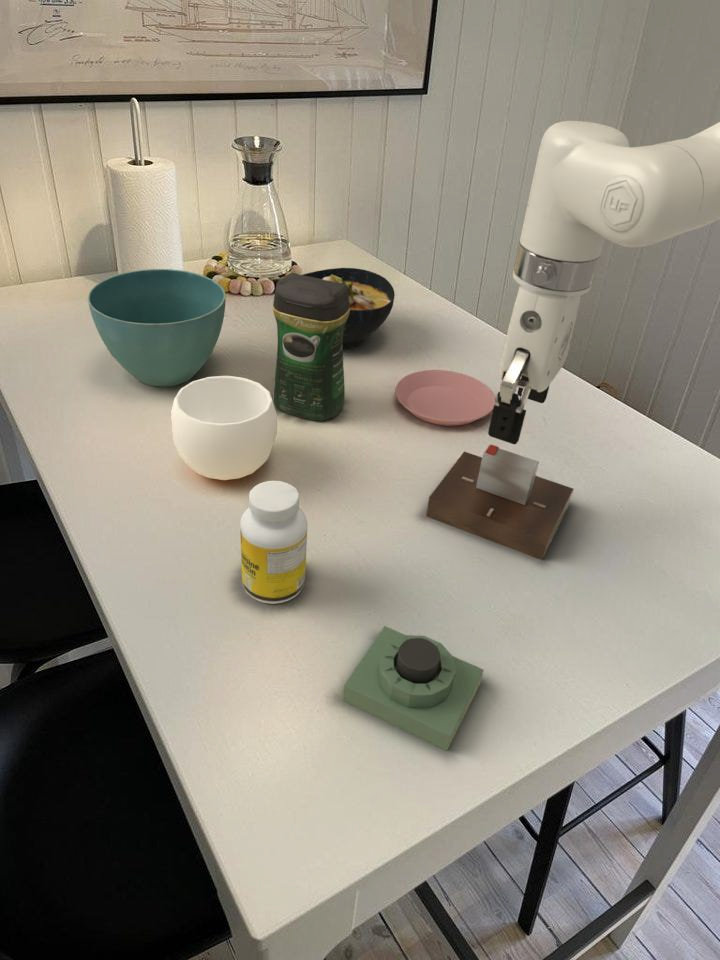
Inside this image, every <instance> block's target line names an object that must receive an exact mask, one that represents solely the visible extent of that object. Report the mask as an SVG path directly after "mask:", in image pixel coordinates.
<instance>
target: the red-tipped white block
mask: <svg viewBox="0 0 720 960" xmlns="http://www.w3.org/2000/svg"><path fill="white" fill-rule="evenodd" d="M481 457H482V461H481V466H480V471H479V476H478V481H477V486H476V488H478V489H480V490H483V491H486V492H489V493H492V494H494V495H497V496H500V497H503V498H506V499H509V500H511V501H514V502H517V503H520V504H523V505H525V504H526V503H527V501H528V499H529V497H530V495H531V491H532V487H533V484H534V480H535V476H537V472H538V468H539V463H540V461H539V460H535V459H532V458H529V457H527V456H524V455H520V454H518V453H514V452H512V451H508V450H505V449H503V448H500V447H499V446H497V445H495V444H489V445H488V446H486V449H485V450H484V451H483V452H482V456H481Z"/></svg>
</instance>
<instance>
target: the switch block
mask: <svg viewBox="0 0 720 960" xmlns="http://www.w3.org/2000/svg"><path fill="white" fill-rule="evenodd" d="M412 638H422V639H426V640H428V641H430V642H432V643H433V644H434V645H435V646H436V647H437V648H438V650H439V652H440V662H439V667H438V671H437V674H436V676H435V677H434V678H433V679H432V680H431V681H429V682H426V683H413V682H410V681H408V680H406V679H404V678H403V677H402V676H401V675H400V674H399V672H398V670H397V658H398V651H399V648H400V646H401V644H402V643H403V642H405V641H406V640H408V639H412ZM483 675H484V669H483V668H481V667H478V666H477V665H474V664H472V663H470V662H467V661H465V660H463V659H461V658H459V657H457V656H453V654H452V653H451V652H449V650H448V649H447V648H446V647H445V646H444V645H443V643H441V642H439V641H437V640H435V639H432V638H430V637H428V636H425V635H414V634H413V635H408V634H407V635H406V634H404V633H402V632H399V631H397V630H395V629H392V628H390V627H388V626H386V625H384V626H383V627H382V629H381V630H380V632H379V633H378V635H377V636H376V638H375V639H374V640H373V642H372V643H371V645H370V646H369V648H368V650H367V651H366V652H365V654H364V655H363V656H362V658H361V659H360V661H359V662H358V664H357V666H356V667H355V668H354V670H353V671H352V673H351V674H350V676H349V677H348V679H347V680H346V682H345V683H344V685H343V692H342V693H343V694H342V701H343V702H345V703H347V704H349V705H351V706H354V707H355V708H357V709H360V710H361V711H364V712H365V713H368V714H370V715H372V716H373V717H376V718H378V719H380V720H382V721H384V722H386V723H388V724H391V725H392V726H395V727H396V728H399V730H400V729H401V730H402V731H405V732H406V733H409V734H411V735H413V736H415V737H416V738H419V739H421V740H423V741H425V742H427V743H428V744H430V745H433V746H435V747H438V748H439V749H440V750H441V749H442V750H443V751H446V752H447V751H448V750H449V748H450V746H451V744H452V742H453V740H454V738H455V736H456V735H457V732H458V730H459V728H460V726H461V724H462V723H463V720H464V718H465V716H466V713H467V712H468V710H469V708H470V706H471V704H472V702H473V700H474V698H475V696H476V694H477V692H478V690H479V688H480V686H481V682H482V679H483Z"/></svg>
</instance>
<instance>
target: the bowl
mask: <svg viewBox="0 0 720 960" xmlns="http://www.w3.org/2000/svg"><path fill="white" fill-rule="evenodd" d="M302 275H303V276H308V277H313V278H318V279H323V280H327V281H332V282H338V283H345V284H346V285H347V287H348V292H349V303H350V312H349V316H348V319H347V321H346V323H345V325H344V330H343V350H351V349H355V348H357V347H359V346H361V345H362V344H363V343H364V341H366V338H367V337H369V336H370V335H371V334H373V333H374V332H376V330H378V329H379V328H380V327H381V326H382V325H383V324H384V323H385V321H386V320H387V318H388V317H389V316H390V314H391V312H392V309H393V307H394V300H395V296H396V295H395V289H394V287H393V285H392V284H391V282H389V281H388V280H387V279H386V278H385V277H384V276H382V275H380V274H378V273H377V272H373V271H370V270H367V269H362V268H355V267H336V268H335V267H334V268H326V269H321V270H315V271H312V272H311V271H310V272H307V273H303V274H302Z"/></svg>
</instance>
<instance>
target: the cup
mask: <svg viewBox="0 0 720 960" xmlns="http://www.w3.org/2000/svg"><path fill="white" fill-rule="evenodd" d="M170 420H171V421H170V422H171V431H172V438H173V439H172V440H173V444H174V446H175V448H176V450H177V452H178V454H179V458H180V459H181V460H182V461H183V462H184V463H185V464H186V465H187V466H188V467H189V468H190V469H191V470H192V471H194V472H195V473H196V474H198V475H200V476H202V477H205V478H207V479H212V480H213V479H214V480H220V481H230V480H236V479H242V478H244V477H247V476H249V475H252V474H254V473H255V472H256V471H257V470H259V468H261V467H262V466H263V465H264V464H265V463H266V462H267V461H268V459H269V457H270V454H271V453H272V449H273V446H274V443H275V441H276V438H277V436H278V413H277V411H276V406H275V405H274V402H273V398H272V395H271V392H270V390H268V389H267V388H265V387H264V386H263V385H262V384H261V383H259V382H257V381H254V380H251V379H249V378H246V377H241V376H232V375H219V376H218V375H217V376H216V375H214V376H207V377H204V378H200V379H197V380H193V381H191V382H189V383H188V384H186V385H184V386H183V387H181V388H180V389H179V390H178V392H177V394H176V395H175V397H174V398H173V402H172V406H171V411H170Z"/></svg>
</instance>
